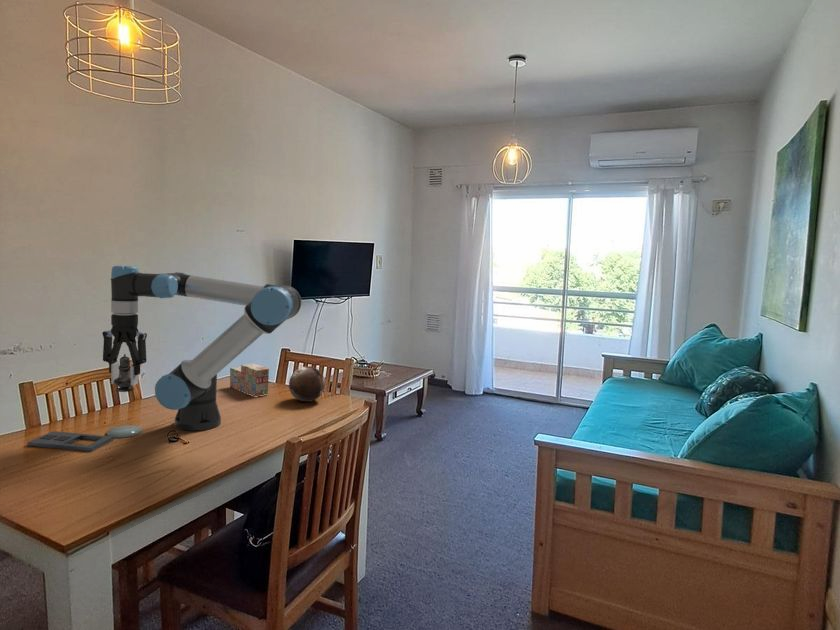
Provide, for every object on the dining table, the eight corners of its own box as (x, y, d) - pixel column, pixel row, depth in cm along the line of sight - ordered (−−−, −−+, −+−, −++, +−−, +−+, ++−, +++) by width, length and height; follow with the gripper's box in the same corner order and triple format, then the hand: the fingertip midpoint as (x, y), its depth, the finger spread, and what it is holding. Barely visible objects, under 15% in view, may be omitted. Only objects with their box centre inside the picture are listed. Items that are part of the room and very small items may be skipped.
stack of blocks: (229, 387, 233) (230, 361, 232) (242, 385, 238) (242, 359, 237) (255, 398, 220) (256, 369, 218) (268, 395, 224) (269, 368, 223)
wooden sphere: (280, 400, 218) (282, 366, 216) (307, 394, 230) (308, 361, 229) (305, 408, 209) (306, 372, 208) (331, 401, 222) (333, 367, 220)
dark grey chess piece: (125, 393, 165) (125, 356, 163) (109, 391, 166) (109, 354, 165) (139, 388, 171) (139, 353, 169) (123, 386, 172) (123, 351, 170)
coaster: (147, 429, 175) (147, 426, 174) (129, 439, 165) (129, 436, 165) (119, 426, 175) (119, 424, 175) (99, 436, 165) (99, 434, 165)
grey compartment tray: (113, 440, 163) (113, 436, 163) (91, 451, 153) (91, 447, 153) (53, 434, 164) (53, 430, 164) (27, 445, 154) (27, 441, 154)
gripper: (159, 314, 169) (159, 383, 171) (104, 310, 170) (104, 379, 172) (146, 316, 161) (145, 388, 164) (88, 312, 162) (89, 384, 165)
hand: (124, 383), depth 168 cm, fingers closed on dark grey chess piece, 6 cm apart
